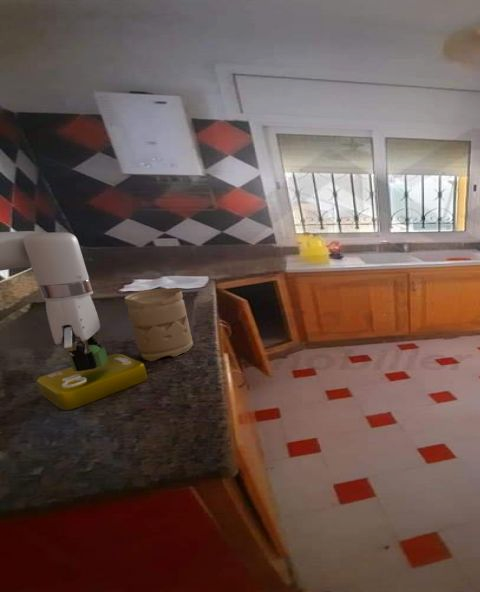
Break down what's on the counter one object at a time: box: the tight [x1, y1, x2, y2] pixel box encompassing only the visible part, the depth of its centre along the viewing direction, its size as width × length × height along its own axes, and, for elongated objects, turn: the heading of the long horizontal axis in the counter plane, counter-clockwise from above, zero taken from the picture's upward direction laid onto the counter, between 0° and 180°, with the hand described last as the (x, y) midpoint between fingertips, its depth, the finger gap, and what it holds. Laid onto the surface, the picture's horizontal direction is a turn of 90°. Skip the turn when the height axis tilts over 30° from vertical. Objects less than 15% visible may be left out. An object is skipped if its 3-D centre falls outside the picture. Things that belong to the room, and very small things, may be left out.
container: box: [124, 287, 194, 362], centre depth 92 cm, size 13×13×18 cm
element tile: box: [36, 353, 148, 411], centre depth 75 cm, size 15×15×5 cm
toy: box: [69, 345, 108, 372], centre depth 73 cm, size 5×4×5 cm
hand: (91, 364), depth 74 cm, fingers closed on toy, 4 cm apart
